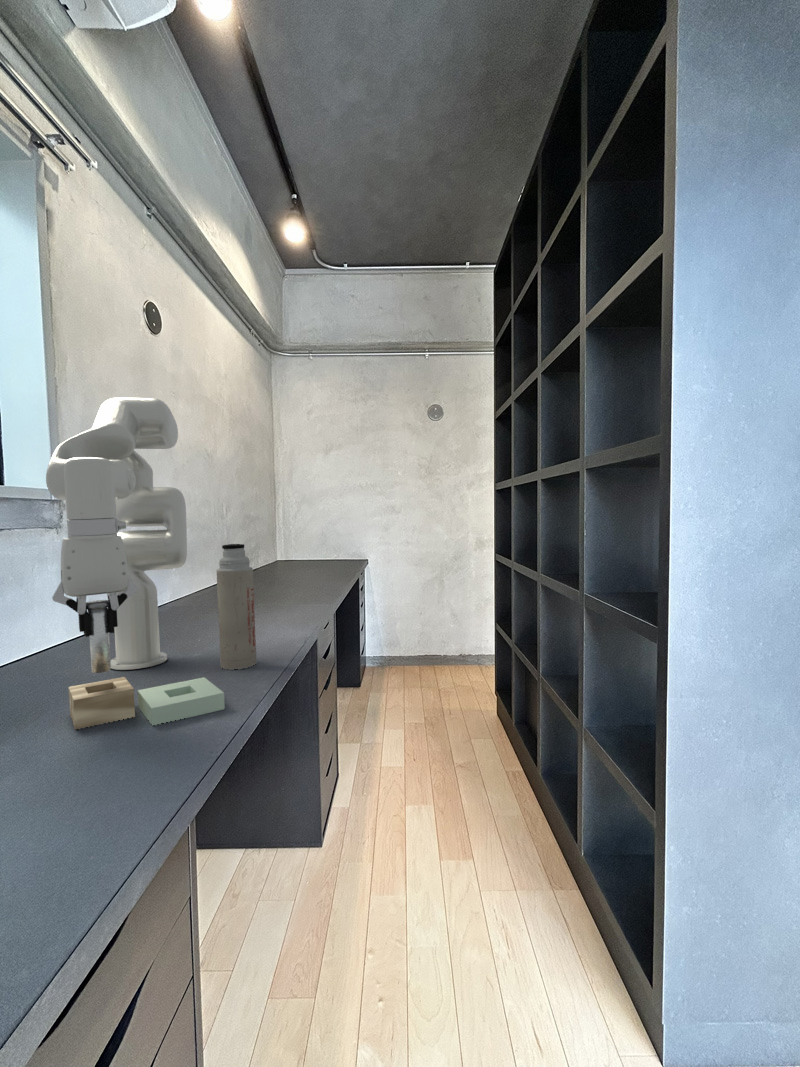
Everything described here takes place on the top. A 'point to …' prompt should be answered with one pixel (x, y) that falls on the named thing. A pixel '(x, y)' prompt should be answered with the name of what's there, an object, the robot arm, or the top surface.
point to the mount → (101, 702)
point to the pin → (99, 635)
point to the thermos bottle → (236, 609)
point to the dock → (180, 700)
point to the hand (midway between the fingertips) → (99, 632)
